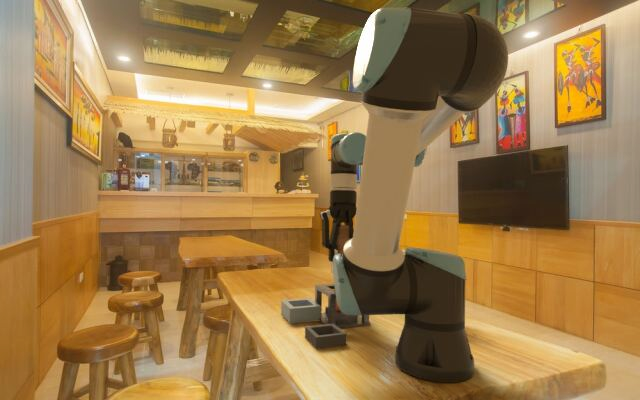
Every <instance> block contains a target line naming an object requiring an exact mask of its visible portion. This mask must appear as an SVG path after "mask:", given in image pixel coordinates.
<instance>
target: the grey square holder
mask: <svg viewBox="0 0 640 400" xmlns="http://www.w3.org/2000/svg"><path fill="white" fill-rule="evenodd" d="M280 309H281V310H280V314H281V316H283V318H284V319H285V321H286V322H288V324H300V323H308V322H320V321H319V318H321V313H322V311H321V306H320V305H319V304H317V303H315V300H313V299H312V298H311V297H309V298H296V299H282V300H281V306H280Z"/></svg>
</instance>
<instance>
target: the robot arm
mask: <svg viewBox="0 0 640 400" xmlns="http://www.w3.org/2000/svg"><path fill="white" fill-rule="evenodd" d="M355 53H356V54H355V57H354V62H353V74H352V85H353V88H354V90H356V91H357V92H358V93H361V100H360V103H361V105H362V106H363V107H364V108H365V110H366V111H367V113H368V120H367V129H366V135H365V134H364V133H362V132H358V131H356V132H354V131H353V132H350V133H339V134H338V133H337V134H334V135H333V136H332V137H331V142H330V147H329V148H330V177H329V178H330V181H329V182H330V183H329V186H330V187H329V188H330V189H332V190H330V191H329V207H328V209H327V210H326V211H325V210H324V211H320V213H319V217H320V220H321V245H322V247H323V248H325V249H327V250H328V262H331V263H330V266H331V268H330V273H332V275H333V284H334V286H335V293H336V298H337V303H338V307H339V309H340V311H341V312H342V313H344V314H346V315H359V316H361V317H362V316H363V315H369V316H381V315H382V316H383V315H384V316H386V315H404V322H403V323H404V324H403V328H402V331H401V333H400V337H399V339H398V343H397V345H396V347H395V353H394V354H395V356H394V359H395V364H396V365H397V367H398V368H399V369H400V370H402V371H403V372H405V373H406V374H408V375H411V376H413V377H415V378H418V379H422V380H426V381H430V382H437V383H460V382H463V381H467V380H470V379H471V378H472V377H473V376H474V374H475V358H474V355H473V354H472V351H471V347H470V343H469V342H470V341H469V340H468V336H467V333H466V324H465V323H466V281H467V273H466V264H465V260H464V259H463V258H462V257H461V256H460V255H458V254H453V253H450V252H446V251H440V250H433V249H427V248H421V247H412V246H411V247H409V246H408V247H406V248H405V251H403V249H402V248H401V247H400V241H401V235H402V230H403V226H404V220H405V216H406V214H405V213H406V209H407V204H408V200H409V195H410V191H411V190H410V189H411V184H412V180H413V174H414V169H415V168H417V167H419V166H421V165H422V163H423V161H424V159H425V157H426V156H425V154H426V148H427V147H428V146H430V145H431V144H432V143H433V142H434V141H435V140H436V139H437V138H439V137H440V136H441V135H442V134H443V133H444V132H446V130H448V129H449V128H450V127H451V126H452V125H454V124H455V123H456V122H457V121H458V120H459V119H460V118H461V117H463V116H464V115H465V114H467V113H472V112H475V111H477V110H479V109H480V108H481V107H482V106H484V105H485V104H486V103H487V102H488V101H489V100H490V99H492V97H494V95H495V94H496V93H497V92H498V90H499V88H500V87H501V85H502V84H503V81H504V79H505V77H506V74H507V71H508V70H507V69H508V65H509V52H508V45H507V42H506V40H505V37H504V35H503V33H502V32H501V31H500V30H499V28H498V27H497V25H496V24H495V23H494V24H493V22H491V21H490V20H489V19H487V18H484V17H482V16H480V15H477V14H471V13H454V12H447V11H439V10H431V9H423V8H417V7H416V8H414V7H406V6H404V7H381V8H378V9H377V10H375V11H374V12H373V13H372V14H371V15H370V16H369V18H368V19H367V21H366V23H365V24H364V27H363V29H362V31H361V35H360V38H359V41H358V45H357V49H356V52H355ZM358 166H361V173H360V181H359V188H358V194H357V190H356V189H357V187H358V184H357V183H358ZM330 217H331V218H332V223H331V232H330V221H329V220H330ZM354 217H355V218H354ZM353 219H354V220H353ZM342 223H343V225H349V230H350V235H349V240H348V241H347V242H346V243H345V245H344V248H343V255H342V254H338V250H335V248H336V243H337V238H338V233H339V227H340V226H341V225H342Z"/></svg>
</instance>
